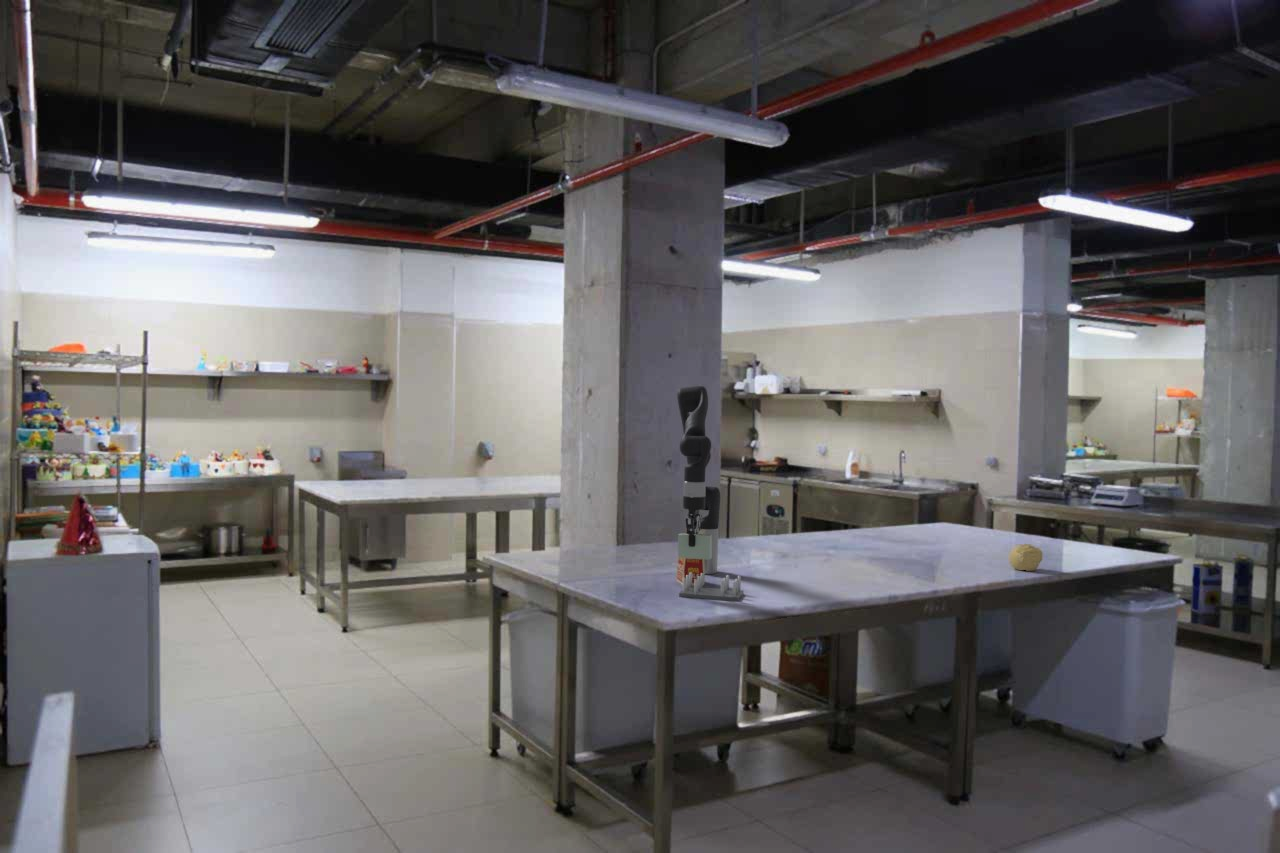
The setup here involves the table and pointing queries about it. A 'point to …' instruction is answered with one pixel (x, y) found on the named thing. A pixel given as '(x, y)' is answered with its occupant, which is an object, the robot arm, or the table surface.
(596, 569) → the table surface
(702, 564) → the milk carton
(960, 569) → the table surface
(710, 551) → the sage green prism
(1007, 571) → the table surface
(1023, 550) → the yellow lumpy ball
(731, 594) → the dish rack
